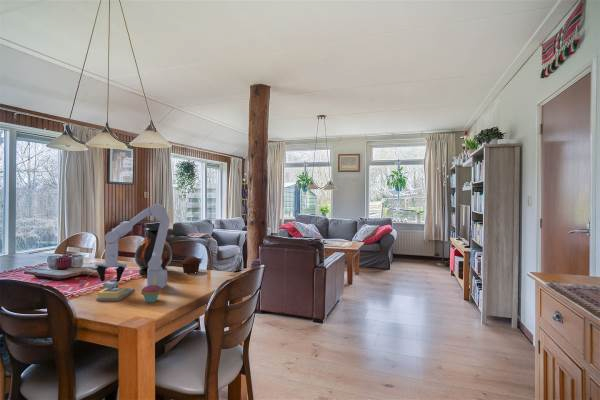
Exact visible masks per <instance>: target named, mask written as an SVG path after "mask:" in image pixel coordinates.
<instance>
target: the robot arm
mask: <svg viewBox="0 0 600 400" xmlns="http://www.w3.org/2000/svg"><path fill="white" fill-rule="evenodd" d="M152 216H153V217H155V218H156V219H157V221H158V222H159V230H158V234H157V238H156V242H155V246H154V250H153V254H152V257H151V259H150V261H149V262H148V273H147V279H146V281H147V282H146V285H145V286H144V287H147V286H149V285H154V279H155V276H157V277H156V282H155V285H157V286H160V288H161V289H163V288H165V287H166V286H168V269H167V270H163V269H162V267H161V264H162V252H163V248H164V243H165V240H166V238H167V235H168V234H167V233H168V230H169V226H170V222H171V219H170V217H169V214H168V212H167V209H166V208H165V206H163V205H162V204H160V203H154V204H152V205H151V206H149V207H147V208H145V209H143V210H142V211H140V212H139V213H138V214H137V215H135V216H134V217H132V218H130V220H129V221H125V220H124V221H121V222H119V225H117V226H115V227H114V228H111V231H108V232H107V233H106V234H105V235H104V241H105V245H104V246H105V249H104V262H95V265H94V266H95V268H96V271H97V274H98V275H99V279H100V282H105V279H106V270H107V268H115V271H116V279H117V282H118V283H119V282H121V278H122V276H123V273H124V271H125V270H126V268H127V266H128V263H127V262H119V261H118V260H119V240H120V239H121V238H123V237H124V236H126V235H127V234H128V233H129V232H131V231H132V230H133V227H134V225H136V224H138V223H139V222H140V221H142V220H143V219H145V218H148V217H152ZM156 274H157V275H156Z"/></svg>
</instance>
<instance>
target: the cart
mask: <svg viewBox="0 0 600 400" xmlns="http://www.w3.org/2000/svg"><path fill="white" fill-rule="evenodd" d="M105 288H108V291H110V290H111V289H113V288H119V282H117V278H115V279H114V278H111V279H110V278H109V280H108V281H107V282H105V283H103V284H102V290H103V289H105Z"/></svg>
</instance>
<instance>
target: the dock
mask: <svg viewBox="0 0 600 400" xmlns="http://www.w3.org/2000/svg"><path fill="white" fill-rule="evenodd" d="M133 292H135V287H117V288H113V289H111V290H108V288H105V289H103V288H102V289H101V290H100V291H97V297H96V301H97V302H98V301H99V302H100V301H108V302H109V301H113V302H114V301H115V302H116V301H118V302H119V301H122V299H124V298H126V297H127V296H129V295H130V294H131V293H133Z"/></svg>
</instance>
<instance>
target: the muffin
mask: <svg viewBox="0 0 600 400" xmlns="http://www.w3.org/2000/svg"><path fill="white" fill-rule="evenodd" d="M181 264H182V271H183V274H185V273H195V272H199V269H200V264H201V260H200V259H199V258H198V257H196V256H193V255H191V256H190V255H189V256H187V257H185V258H184V259H183V260H182V262H181ZM195 274H196V273H195Z"/></svg>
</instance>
